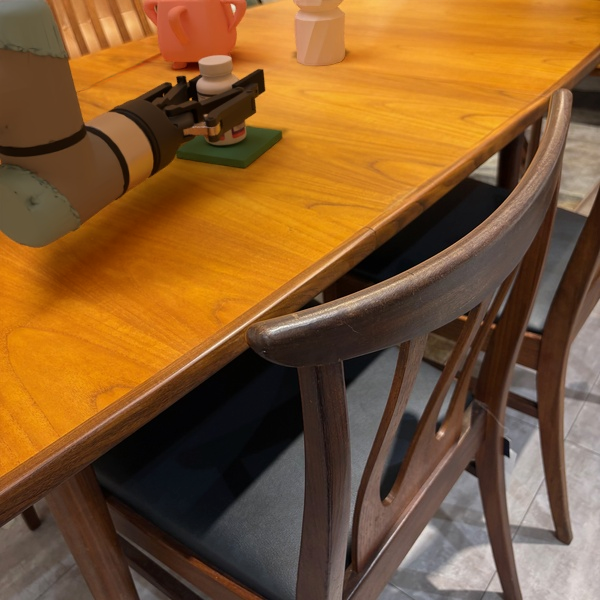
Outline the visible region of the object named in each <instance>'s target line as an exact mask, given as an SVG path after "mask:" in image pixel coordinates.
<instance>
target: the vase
mask: <svg viewBox="0 0 600 600" xmlns="http://www.w3.org/2000/svg"><path fill="white" fill-rule="evenodd" d="M292 1H293V3H294V4H295V6H297V7H298V8H299V10H298V11H297V12H296V13H295V14H294V38H295V48H296V62H297V63H298V64H301V65H303V66H312V67H320V66H331V65H334V64H339V63H340V62H342V61H343V60H344V59H345V56H346V44H345V43H346V42H345V41H346V40H345V28H346V13H345V12H344V11H343V10H342V9H341V8H340V5H341V4H342V3H343V2H344V0H292Z"/></svg>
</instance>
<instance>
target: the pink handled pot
mask: <svg viewBox="0 0 600 600" xmlns="http://www.w3.org/2000/svg"><path fill="white" fill-rule="evenodd" d="M232 5H233V6H234V8H235V9H234V10H233V8H232ZM156 6H157V7H156ZM247 6H248V4H247V1H246V0H144V1H143V2H142V9H143V12H144V14H145V16H146V17H147V18H148V19H149V20H150V21H151V23H152V24H153V25H154V26H156V34H157V43H158V49H159V53H160V55H161V56H162V57H161V58H163V60H164V61H165V62H173V64H172V67H171V68H172V69H173V70H178V69H179V70H180V69H185V68H187V66H188V63H199V60H200V59H202V58H205V57H209V56H216V55H225V56H230V57H231V58H232V55H231V52H232V51H233V50H234V48H235V47H236V43H237V38H238V31H237V27H238V25H239V24H240V23H241V21H242V20H243V18H244V16H245V14H246V12H247V8H248V7H247ZM155 7H156V8H157V9H155ZM233 11H234V12H233Z"/></svg>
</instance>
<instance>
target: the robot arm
mask: <svg viewBox="0 0 600 600" xmlns="http://www.w3.org/2000/svg"><path fill="white" fill-rule="evenodd" d="M60 32H61V31H60V29H59V26H58V23H57V21H56V18H55V16H54V13H53V11H52V9H51V6H50V5H49V3H48V2H47V1H46V0H0V163H1V164H0V232H1V233H2V234H3V235H4V236H6V237H7V238H8V239H10V241H11V240H12V241H13V242H14V243H16V244H18V245H21V246H25V247H28V248H35V249H40V248H45V247H47V246H49V245H51V244H52V243H54V242H55V241H57V240H60V239H61V238H62V237H64V236H66V235H68V234H70V233H71V232H75V231H77V230H78V229H80V227H81V226H82V225H84V224H85V223H87V221H89V220H90V219H91V218H93V217H94V216H96V214H98V213H99V212H101V211H102V210H104V209H105V208H106V207H108V206H109V205H110V204H112V203H113V202H115V201H117V200H119V199H121V198H122V197H123V196H124V195H125V194H127V193H128V192H129V191H131V190H133V189H134V188H136V187H137V186H139V185H140V184H142V183H143V182H145V181H146V180H147V179H148V178H152V177H153V176H154V175H156V174H157V173H159V172H161V171H162V170H164V169H165V168H166V167H168V166H169V165H170V164H171V163H172V162H173V161H174V160H175V158H176V153H177V150H178V148H180V147H181V145H182V144H186V143H187V142H189V141H191V140H192V139H194V138H195V137H196V136H198V135H206V137H208V141H209V142H212V143H213V142H218V141H219V140H220V139H221V137H222V135H223V134H224V133H226V132H227V131H229V130H231V129H232V128H234V127H235V126H237V125H238V124H240V123H241V122H243V121H244V120H245V121H246V120H248V119H249V118H250V117H252V116H254V115H255V114H256V113H257V106H256V105H257V104H256V99H257V98H258V97H259V96H260V95H262V94H263V93H265V92H266V83H265V82H266V81H265V71H264V68H257V69H255V70H254V71H252V72H251V73H249V74H247V75H245V76H243V77H242V78H241V79H239V81H237V82H236V83H234V84H232V89H231V90H228V91H226V92H223V93H221V94H218V95H215V96H213V97H210V98H208V99H205V100H202V101H200V102H199V100H198V94H197V88H196V85H197V82H198V80H199V79H200V78H202V75H201V74H200V73H199V74H198V75H197V76H194V77H193V78H191V79H189V80H187V76H186V75H177V76H175V79H176V84H175V85H173V83H172V82H169V81H165V82H163V83H161V84H159V85H156V87H154V88H152V89H150V90H149V91H146V92H145V93H143V94H141V95H139V96H137V97H135V98H133V99H129V100H127V101H125V102H123V103H122V104H119V105H116V106H114V107H113V108H112V109H110V110H108V111H107V112H103V113H100V114H99V115H97V116H95V117H94V118H92V119H90V120H88V121H86V122H85V121H84V118H83V117H84V116H83V114H82V109H81V105H80V101H79V98H78V93H77V90H76V86H75V82H74V78H73V74H72V70H71V66H70V61H69V53H68V51H67V50H66V48H65V45H64V40H63V38H62V35H61V33H60ZM187 81H188V82H187Z"/></svg>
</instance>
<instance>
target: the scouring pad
mask: <svg viewBox="0 0 600 600" xmlns="http://www.w3.org/2000/svg"><path fill="white" fill-rule="evenodd" d="M281 139H283V131H282V130H279V129H272V128H271V129H270V128H264V127H255V126H247V125H246V137H245V138H244V139H243V140H241V141H240V142H237V143H234V144H229V145H213V144H210V143H208V142H207V141H206V140H205V136H204V135H195V137H194V139H192V140H191V141H188V142H185V143H183V145H182V146H181V145H180V146H179V148H178V150H177V153H176V155H175V157H176V158H177V159H181V160H190V161H196V162H201V163H209V164H215V165H220V166H221V165H222V166H227V167H233V168H242V169H246V168H248V167H249V166H250V165H251V164H252V163H253V162H255V161H256V160H257V159H258V158H259V157H261V156H262V155H263V154H265V152H267V151H268V150H269V149H270V148H272V147H273V146H274V145H276V144H277V143H278V142H279V141H280V140H281Z"/></svg>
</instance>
